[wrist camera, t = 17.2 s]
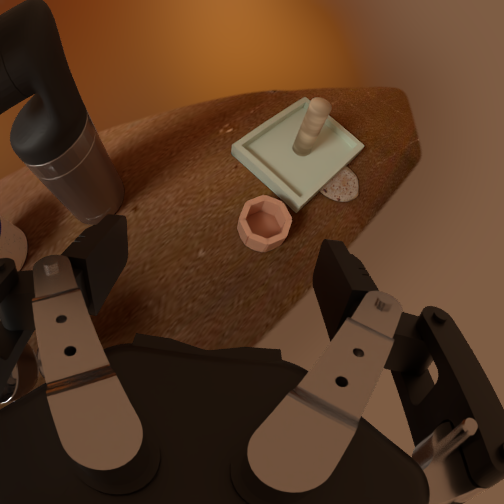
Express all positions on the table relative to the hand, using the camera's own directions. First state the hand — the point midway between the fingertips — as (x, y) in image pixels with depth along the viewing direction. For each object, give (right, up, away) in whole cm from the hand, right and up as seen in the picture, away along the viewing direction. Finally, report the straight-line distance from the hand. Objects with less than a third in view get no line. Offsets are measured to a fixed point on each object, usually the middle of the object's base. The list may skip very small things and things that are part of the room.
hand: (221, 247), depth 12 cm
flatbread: (+15, +11, +36) cm, 40 cm away
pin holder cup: (+3, +3, +31) cm, 31 cm away
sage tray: (+9, +16, +36) cm, 40 cm away
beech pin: (+9, +17, +35) cm, 40 cm away
